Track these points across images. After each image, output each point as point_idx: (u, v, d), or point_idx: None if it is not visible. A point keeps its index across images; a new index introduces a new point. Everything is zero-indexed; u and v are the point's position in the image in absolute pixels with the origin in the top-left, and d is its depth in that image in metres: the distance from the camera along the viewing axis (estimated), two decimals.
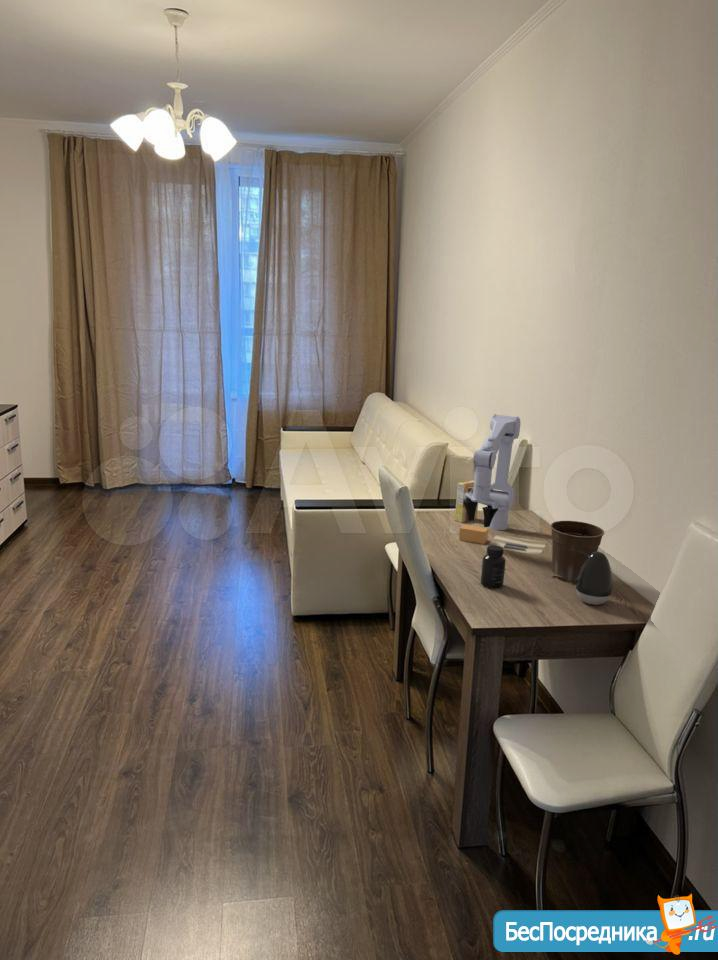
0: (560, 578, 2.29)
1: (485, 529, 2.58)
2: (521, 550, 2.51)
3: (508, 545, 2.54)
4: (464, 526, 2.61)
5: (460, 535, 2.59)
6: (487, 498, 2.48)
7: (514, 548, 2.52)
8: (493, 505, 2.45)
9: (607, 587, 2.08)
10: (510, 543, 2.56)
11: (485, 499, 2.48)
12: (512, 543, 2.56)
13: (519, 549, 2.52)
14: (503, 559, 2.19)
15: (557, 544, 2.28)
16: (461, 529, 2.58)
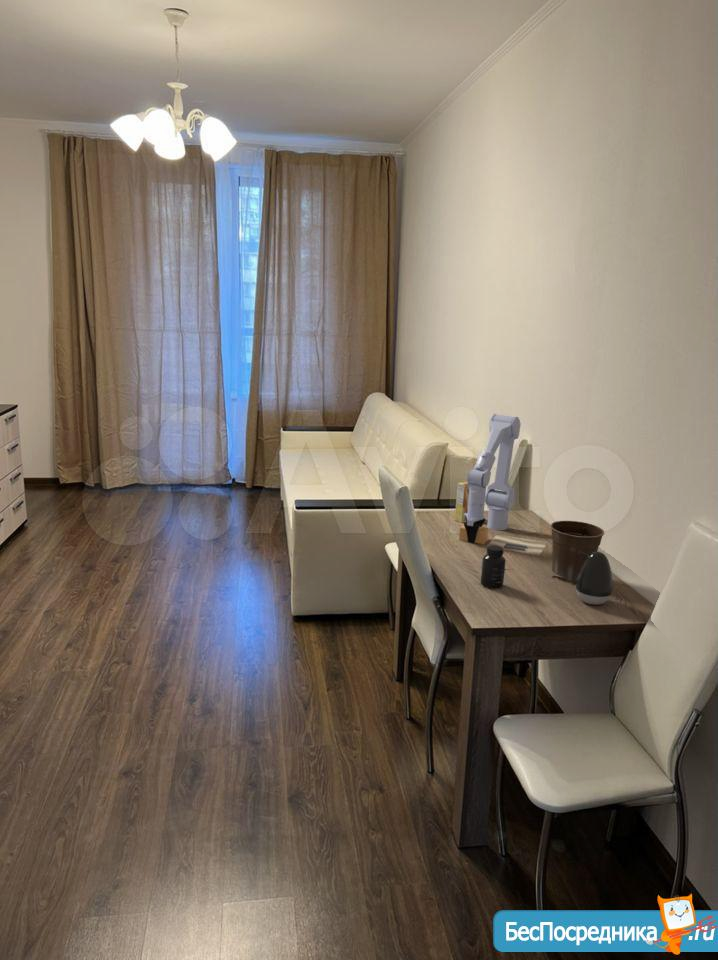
0: (560, 578, 2.29)
1: (485, 529, 2.58)
2: (521, 550, 2.51)
3: (508, 545, 2.54)
4: None
5: (460, 535, 2.59)
6: (473, 516, 2.55)
7: (514, 548, 2.52)
8: (467, 522, 2.52)
9: (607, 587, 2.08)
10: (510, 543, 2.56)
11: (471, 516, 2.56)
12: (512, 543, 2.56)
13: (519, 549, 2.52)
14: (503, 559, 2.19)
15: (557, 544, 2.28)
16: (461, 529, 2.58)
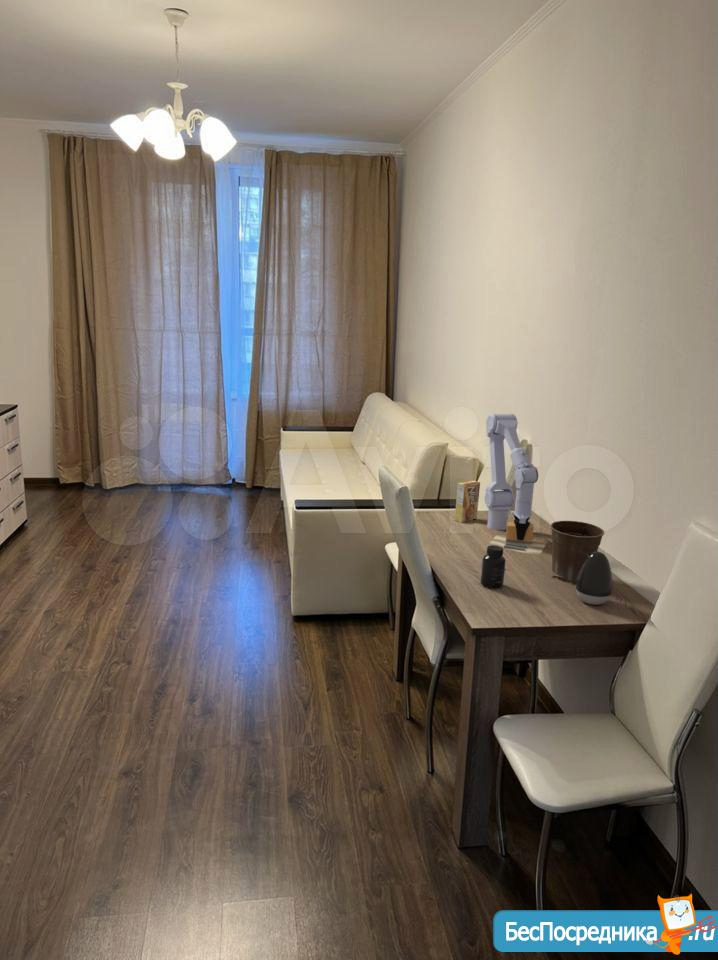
0: (560, 578, 2.29)
1: (531, 525, 2.60)
2: (521, 550, 2.51)
3: (508, 545, 2.54)
4: (509, 523, 2.61)
5: (507, 532, 2.59)
6: (523, 513, 2.56)
7: (514, 548, 2.52)
8: (519, 519, 2.53)
9: (607, 587, 2.08)
10: (510, 543, 2.56)
11: (520, 513, 2.56)
12: (512, 543, 2.56)
13: (519, 549, 2.52)
14: (503, 559, 2.19)
15: (557, 544, 2.28)
16: (508, 526, 2.58)
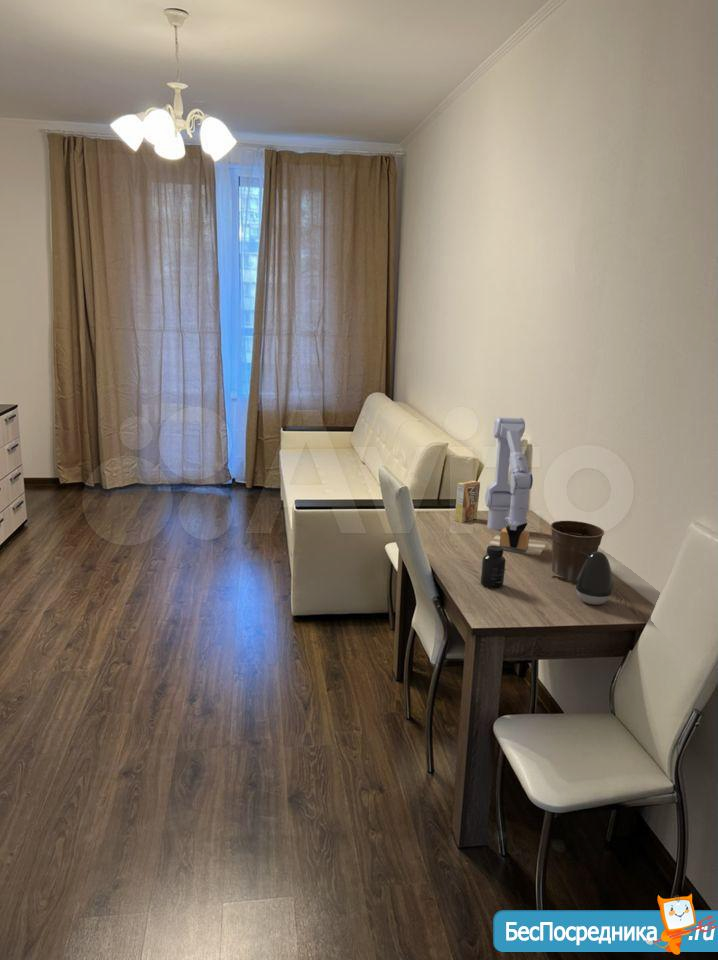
0: (560, 578, 2.29)
1: (527, 532, 2.51)
2: None
3: None
4: (505, 529, 2.53)
5: (501, 538, 2.52)
6: (516, 520, 2.48)
7: None
8: (510, 526, 2.45)
9: (607, 587, 2.08)
10: (506, 548, 2.51)
11: (513, 520, 2.48)
12: (508, 548, 2.51)
13: None
14: (503, 559, 2.19)
15: (557, 544, 2.28)
16: (502, 532, 2.51)
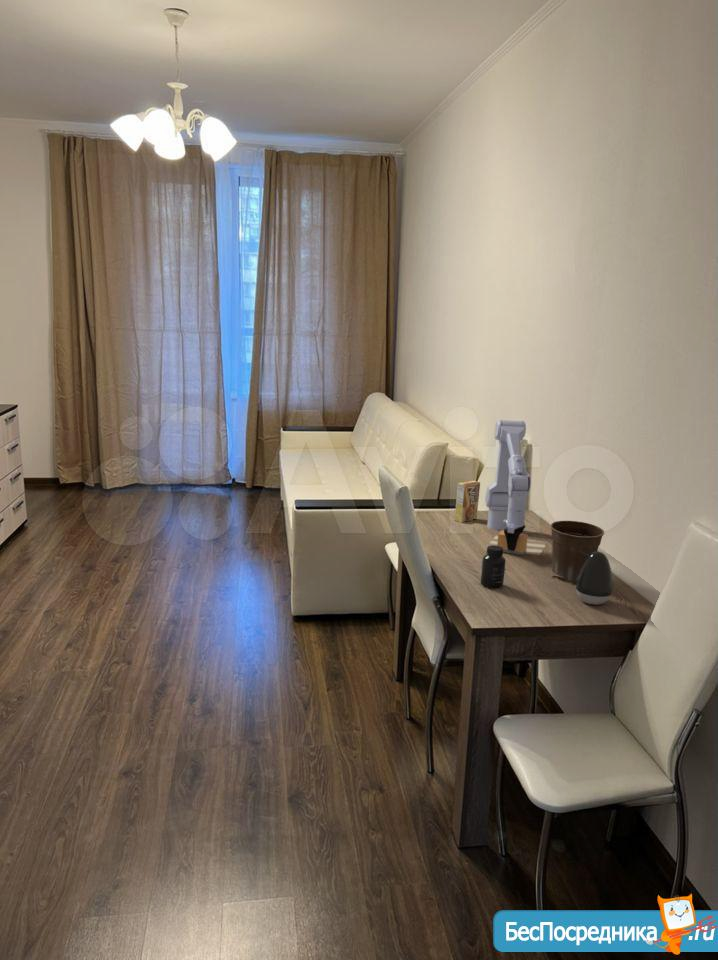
0: (560, 578, 2.29)
1: (525, 535, 2.48)
2: None
3: None
4: (502, 532, 2.50)
5: (498, 541, 2.48)
6: (514, 522, 2.45)
7: None
8: (508, 529, 2.42)
9: (607, 587, 2.08)
10: None
11: (511, 523, 2.45)
12: None
13: None
14: (503, 559, 2.19)
15: (557, 544, 2.28)
16: (499, 535, 2.48)
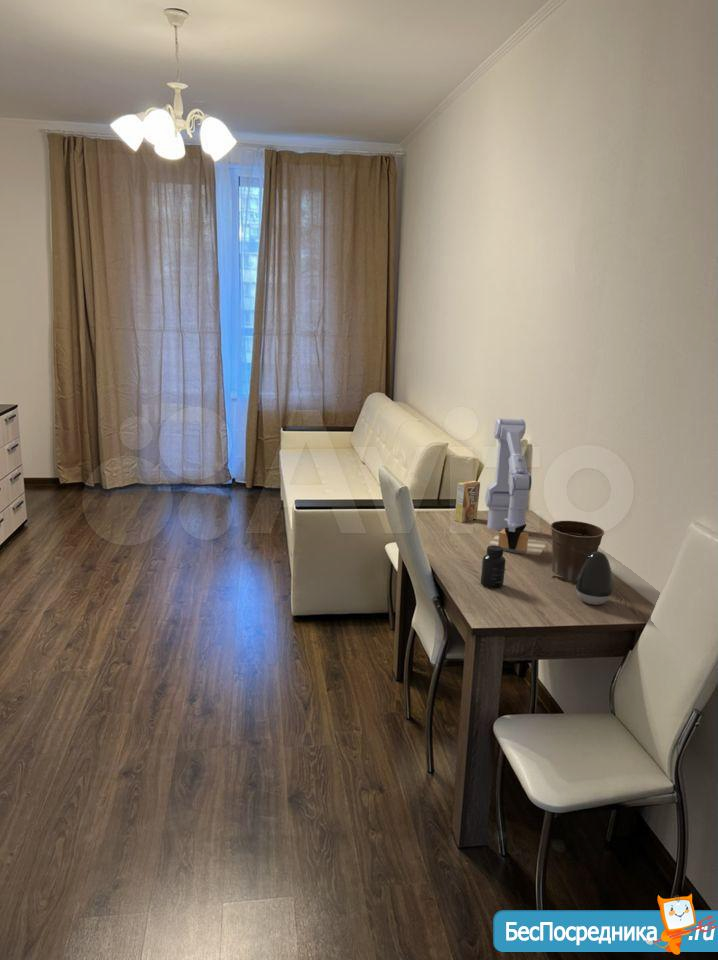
0: (560, 578, 2.29)
1: (525, 534, 2.49)
2: None
3: None
4: (503, 531, 2.52)
5: (499, 540, 2.50)
6: (515, 521, 2.46)
7: None
8: (509, 527, 2.43)
9: (607, 587, 2.08)
10: None
11: (512, 521, 2.47)
12: None
13: None
14: (503, 559, 2.19)
15: (557, 544, 2.28)
16: (501, 534, 2.49)
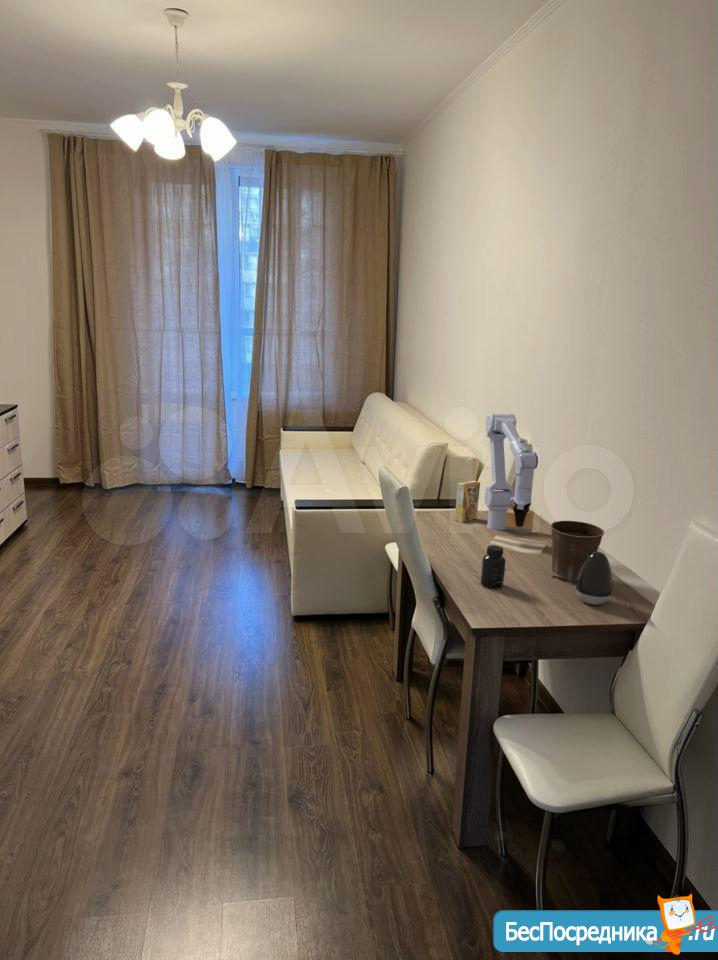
0: (560, 578, 2.29)
1: (531, 512, 2.56)
2: None
3: None
4: (509, 510, 2.58)
5: (507, 519, 2.56)
6: (522, 499, 2.53)
7: None
8: (517, 505, 2.50)
9: (607, 587, 2.08)
10: None
11: (519, 500, 2.53)
12: None
13: None
14: (503, 559, 2.19)
15: (557, 544, 2.28)
16: (508, 513, 2.55)
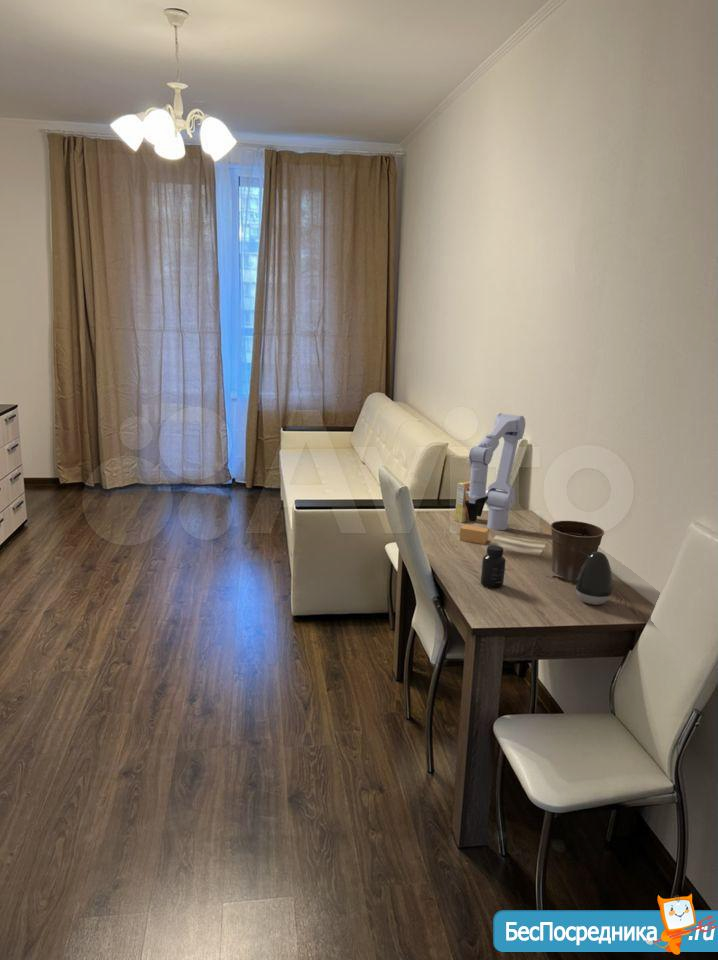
0: (560, 578, 2.29)
1: (486, 529, 2.58)
2: None
3: None
4: (465, 526, 2.61)
5: (460, 535, 2.59)
6: (475, 493, 2.54)
7: None
8: (469, 499, 2.51)
9: (607, 587, 2.08)
10: None
11: (473, 494, 2.54)
12: None
13: None
14: (503, 559, 2.19)
15: (557, 544, 2.28)
16: (461, 529, 2.58)
